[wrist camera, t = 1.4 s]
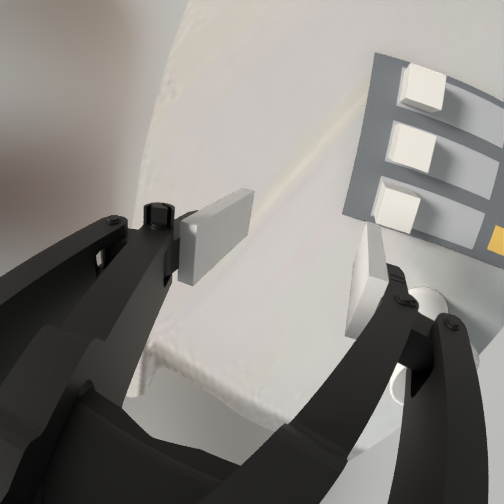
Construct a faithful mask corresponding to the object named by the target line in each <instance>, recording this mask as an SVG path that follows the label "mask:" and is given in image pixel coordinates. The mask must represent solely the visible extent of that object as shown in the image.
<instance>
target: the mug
mask: <svg viewBox="0 0 504 504" xmlns="http://www.w3.org/2000/svg"><path fill="white" fill-rule="evenodd" d="M408 293H409V294H410V295H412V296H413V297H414V298H415V299H416V300H417V301H418V303H419V309H418V312H420V313H421V314H423V315H424V316H426V317H428V318H430V319H432V320H434V321H435V319H436V317H437V316H438V315H439V314H440V313H448V306H447V303H446V301H445V299H444V297H443V296H442V295H441V294H440V293H439V292H437V291H436V290H433V289H431V288H426V287H418V288H413V289H410V290H408ZM448 314H449V313H448ZM470 344H471V343H470ZM471 348H472V352H473V357H474V361H475V365H476V370H477V369H478V366H479V355H478V353H477V351H476V349H475V347H474V346H473V345H472V344H471ZM406 369H407V367H405V366H403V365H401V364H399V363H397V365H396V367H395V369H394V372H393V374H392V376H391V378H390V393H391V395H392V397H393V399H394V400H395V401H396V402H397V403H399V404H401V405H403V406H404V395H405V379H406Z"/></svg>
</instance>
